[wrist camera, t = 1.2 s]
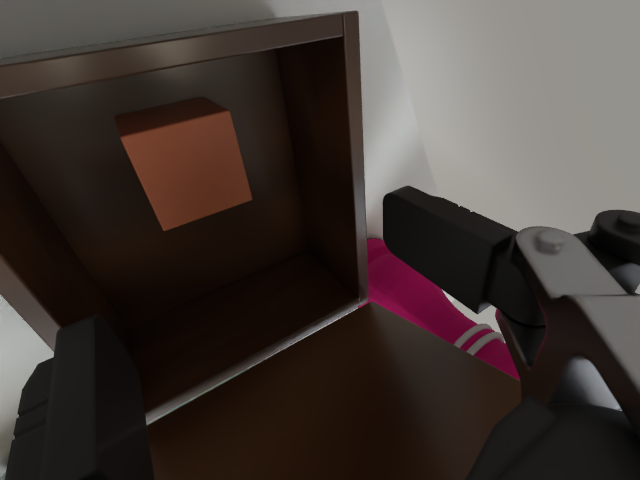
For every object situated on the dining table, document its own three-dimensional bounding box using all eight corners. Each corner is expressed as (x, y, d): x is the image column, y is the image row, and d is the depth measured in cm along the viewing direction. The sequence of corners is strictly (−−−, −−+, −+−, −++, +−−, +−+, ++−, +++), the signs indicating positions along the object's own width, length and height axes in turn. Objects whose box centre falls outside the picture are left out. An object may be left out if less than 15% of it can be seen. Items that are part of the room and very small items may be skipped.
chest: (-70, 68, 13) (-189, 93, 8) (278, 17, 19) (359, 10, 13) (119, 334, 23) (128, 433, 17) (313, 248, 29) (369, 301, 23)
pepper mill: (326, 257, 30) (553, 471, 15) (388, 220, 32) (641, 377, 17) (341, 307, 34) (528, 510, 20) (395, 272, 36) (600, 431, 22)
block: (113, 116, 17) (119, 136, 13) (204, 95, 18) (230, 109, 15) (150, 197, 19) (163, 232, 16) (226, 173, 21) (253, 200, 17)
